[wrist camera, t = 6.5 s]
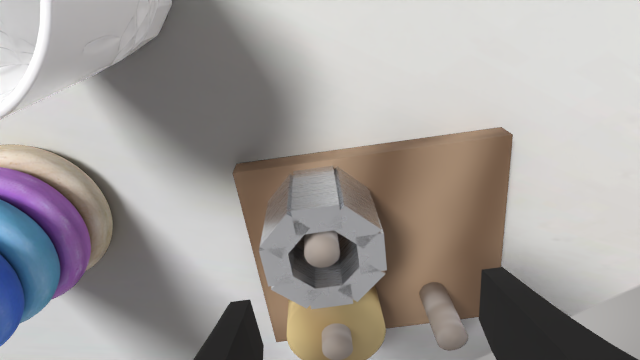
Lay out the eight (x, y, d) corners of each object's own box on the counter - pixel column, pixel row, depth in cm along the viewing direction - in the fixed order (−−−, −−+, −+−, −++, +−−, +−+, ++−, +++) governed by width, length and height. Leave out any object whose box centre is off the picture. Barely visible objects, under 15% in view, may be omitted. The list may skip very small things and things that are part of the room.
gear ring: (366, 160, 19) (380, 198, 15) (375, 248, 21) (389, 298, 18) (260, 176, 19) (249, 217, 16) (280, 261, 22) (275, 314, 18)
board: (501, 127, 20) (554, 162, 16) (487, 300, 25) (524, 363, 21) (236, 163, 20) (218, 207, 16) (277, 327, 25) (272, 393, 21)
